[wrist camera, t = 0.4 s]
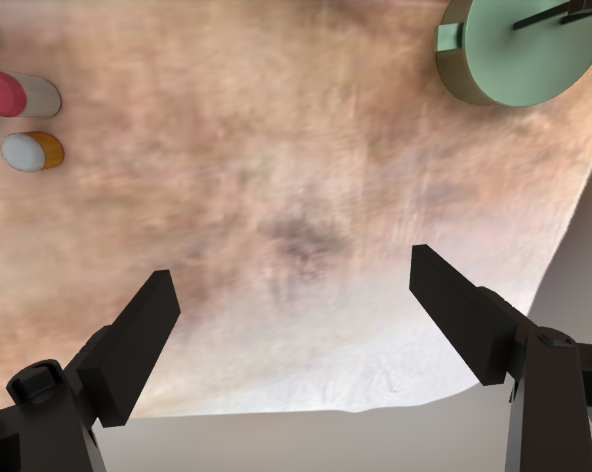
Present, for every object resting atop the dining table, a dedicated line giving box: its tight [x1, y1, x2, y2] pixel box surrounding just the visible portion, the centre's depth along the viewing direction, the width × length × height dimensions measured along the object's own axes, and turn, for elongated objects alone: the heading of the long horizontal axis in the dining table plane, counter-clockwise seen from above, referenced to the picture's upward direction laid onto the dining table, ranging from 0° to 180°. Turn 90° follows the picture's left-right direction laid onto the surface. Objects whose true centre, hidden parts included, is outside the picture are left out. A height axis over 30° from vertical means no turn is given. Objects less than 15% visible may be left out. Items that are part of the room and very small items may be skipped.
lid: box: [462, 0, 592, 107], centre depth 27 cm, size 16×16×9 cm
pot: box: [433, 0, 497, 105], centre depth 34 cm, size 15×20×6 cm
